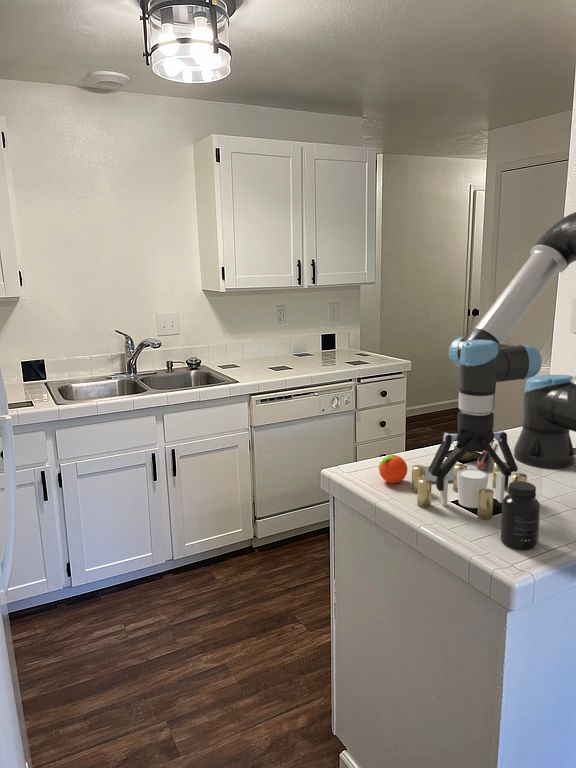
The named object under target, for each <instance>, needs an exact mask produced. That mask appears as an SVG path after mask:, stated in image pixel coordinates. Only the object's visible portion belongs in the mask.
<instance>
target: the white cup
mask: <svg viewBox="0 0 576 768" xmlns="http://www.w3.org/2000/svg"><path fill="white" fill-rule="evenodd" d="M489 477H490V475H489V474H488V472H486V471H484V470H479V469H477V468H476V469H474V468H467V469H463V470H460V471H458V472H457V483H458V492H457V499H458V504H459V505H460V506H462V507H465V508H470V509H478V496H479V489H482V488H487V489H488V482H489Z"/></svg>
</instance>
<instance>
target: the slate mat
mask: <svg viewBox="0 0 576 768" xmlns="http://www.w3.org/2000/svg"><path fill="white" fill-rule="evenodd" d="M424 467H425V478H428V479H431V480H432V485H433V484H436V483H437V482H436V481H437V476H433V475H432V474H431V473H430V472H429V470H428V469H429V467H430V465H429V466H424ZM453 476H454V466H453V467H452V469H451V470H450V471H449V472H448V473H447V475H446V477H447V478H448V484H449V483H451V484H453Z"/></svg>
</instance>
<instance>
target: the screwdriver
mask: <svg viewBox="0 0 576 768" xmlns="http://www.w3.org/2000/svg"><path fill="white" fill-rule="evenodd" d="M494 442H495V439H493V440H492V442H491V443H490V444H489V445H490V446H491V447H492V448H493V445H494ZM490 459H491V457H490V456H489V455H488V454H487V452H486V451H485V450H484V451H483V452H481V454H480V455H479V457H478V458H477V462H476V469H477V470H481V471H484V470H486V468H488V467H489V462H490Z"/></svg>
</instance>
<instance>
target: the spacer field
mask: <svg viewBox="0 0 576 768" xmlns="http://www.w3.org/2000/svg"><path fill="white" fill-rule="evenodd" d="M501 461H502V460H501ZM502 462H503V463H504V464H505V466H507V463H506V461H502ZM425 467H426V466H424V465H419V464H415V465H412V468H411V492H412V493H414V494H416V495H417V498H416V499H417V502H416V503H417V504H416V505H417V507H418V508H421V509H429V508H430V507H432V485H433V484H432V480H431V479H428V478H425ZM463 469H468V465H467V464H464V463H456V464H455V465H454V476H453V482H452V484H453V485H452V490H453V491H454V492H456V493H458V483H457V472H458V471H460V470H463ZM492 471H493V472H492V485H491V486H492V488H493V489H496V475H497V472H498V471H500V472H501V470H500V469H499V468H498V466H497V465H496V464H495V462H494V461H493V470H492ZM511 481H512V482H515V481H523V482H528V475H527V474H525V473H522V472H521V473H520V472H514V473H512V480H511ZM493 489H490V488H488V487H487V488H482V489H479V496H478V508H477V518H478V519H479V520H482V521H491V520H492V519H493V511H494V510H493V509H494V496H495V495H494V494H495V493H494V490H493ZM505 489H506V488H504V490H505Z"/></svg>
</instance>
